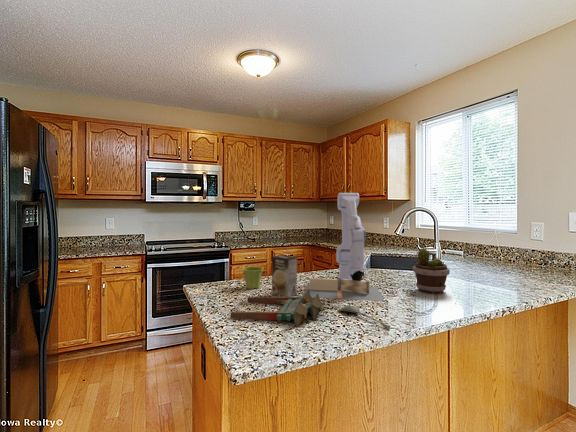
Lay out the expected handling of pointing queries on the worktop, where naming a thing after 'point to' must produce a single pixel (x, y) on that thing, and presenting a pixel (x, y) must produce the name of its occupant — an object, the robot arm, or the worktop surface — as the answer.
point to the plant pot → (252, 277)
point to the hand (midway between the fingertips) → (356, 288)
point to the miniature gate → (284, 308)
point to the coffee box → (284, 275)
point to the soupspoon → (356, 310)
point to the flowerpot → (430, 273)
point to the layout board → (339, 291)
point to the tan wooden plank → (355, 286)
